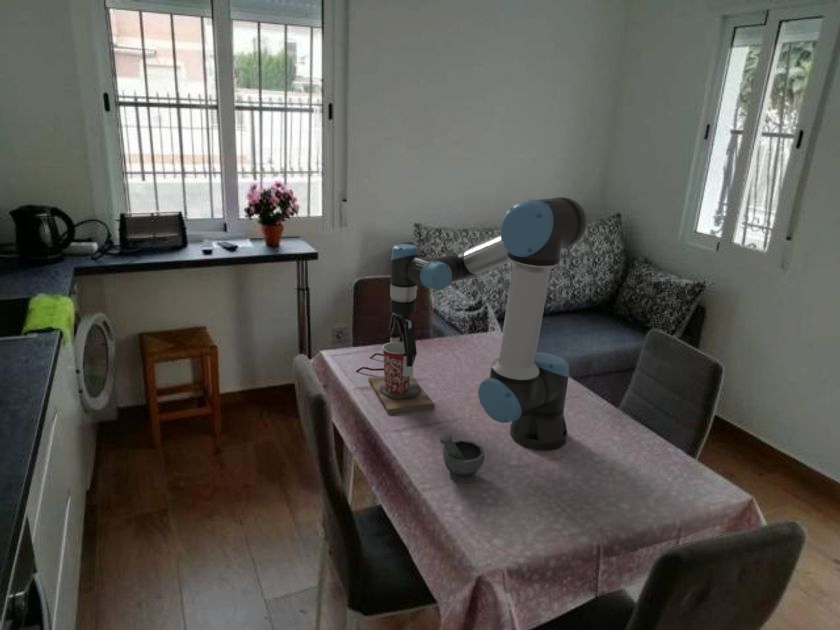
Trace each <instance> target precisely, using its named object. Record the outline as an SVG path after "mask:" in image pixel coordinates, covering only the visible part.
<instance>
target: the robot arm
mask: <svg viewBox="0 0 840 630" xmlns="http://www.w3.org/2000/svg"><path fill="white" fill-rule="evenodd" d="M502 218H503V219H502V221H501V224H500V234H499V235H498V236H495V237H492V238H491V239H488V240H486V241H483V242H481V243H479V244H477V245H475V246H472V247H471V248H470V247H469V248H468V249H466V250H463V251H462V252H459V253H456V254H451V255H445V256H439V257H435V258H427V257H423V256H421V255H419V247H418V246H417V245H415V244H409V243H402V244H400V243H399V244H396V245H393V247H392V248H391V258H390V287H389V290H390V292H389V296H390V300H389V301H390V302H389V310H390V312H391V316H390V319H389V320H390V322H389V326H388V334H389V337H390V341H389V343H391V342H401V341H400V337H401V338H402V342H403V345H404V350H405V353H404V354H403V356H404V365H403V376H414V364H413V359H414V356H415V357H416V356H417V355H418V354H417V353H418V352H417V344H416V334H415V321H414V320H412V318H411V315H412V314H414V313H416V311H417V299H416V298H417V290H419V287H418V285H419V286H423V287H425V288H427V289H429V290H435V291H442V290H445V289H446V288H447V287H448V286H449V285H450V283H454V282H459V281H464V280H471V279H473V278H476V277H478V276H479V275H481V274H482V273H485V272H487V271H490V270H493V269H495V268H498V267H500V266H503V265H505V264H508V263H511V265H512V267H511V273H510V282H509V289H508V292H507V293H508V294H507V301H506V307H505V308H506V309H505V315H504V321H503V329H502V335H501V343H500V349H499V355H498V357H497V358H496V359H494V360H493V361H492V362H491V367H490V373H489V377H486V378H485V379H484V380H483V381H481V383H480V384H479V387H478V392H477V393H478V400H479V403H480V405H481V407H482V408H483V410H484V412H485V413H486V414H487V415H488V416H489V418H491V419H492V420H493V421H496V422H499V423H502V424H508V423H511V424H510V431H509V432H510V433H509V434H510V437H511V438H512V440H513V441H514V442H516V443H517V444H519V445H521V446H522V447H525V448H529V449H532V450H537V451H553V450H558V449H561V448H562V447H564V446H565V445H566V444H567V440H568V429H567V424H566V419H565V418H566V417H565V415H564V413H565V412H564V411H565V403H566V398H567V390H568V383H569V377H570V374H569V373H570V364H569V363H568V361H566V359H564V358H562V357H560V356H558V355H555V354H551V353H546V352H538V351H537V350H538V346H539V345H538V344H539V339H540V333H541V328H542V323H543V321H542V320H543V317H544V316H543V315H544V311H545V310H544V309H545V304H546V298H547V292H548V287H549V282H550V275H551V270H552V269H554V268H555V267H557V266H558V265H559V263H560V257H561V252H562V249H566V248H568V247H571V246H574V245H576V244H577V243H578V242H579V241H581V239H582V238H583V237H584V235H585V233H586V231H587V226H588V216H587V213H586V211H585V210H584V208H583V207H582V205H581V204H580V203H578V201H576V200H574V199H572V198H569V197H564V196H563V197H552V198H542V199H534V198H532V199H529V200H526V201H525V200H524V201H522V202H517V203H516V204H514V205H512V207H511V208H509V210H507V212H506V213H505V215H504V216H503V217H502Z"/></svg>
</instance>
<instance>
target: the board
mask: <svg viewBox="0 0 840 630" xmlns="http://www.w3.org/2000/svg"><path fill="white" fill-rule="evenodd" d="M368 383H370V384H369V386H370V387H371V388H372V390H373V392H374V393H375V395H376V397H377V398H378V400H379V402H380V403H381V405H382V408H383V409H384V410H385V412H386V413H387V415H390V414H391V413H393V414H400V413H407V412H408V413H409V412H415V411H424V410H430V409H431V410H433V409H435V403H434V402H433V400H432V399H431V397H430V396H428V394H427V393H426V391H425V390H424V389H423V387H422V386H421V385H420V384H419V382H418V381H417V380H416V378H415V376H414V375H412V376H410V382H409V390H408V391H407V392H405V393H402V394H393V393H389V392H387V391H386V390H385V378H384V375H381V376H373V377H368ZM391 415H392V414H391Z"/></svg>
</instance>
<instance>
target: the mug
mask: <svg viewBox="0 0 840 630" xmlns="http://www.w3.org/2000/svg"><path fill="white" fill-rule="evenodd" d="M382 351H383V353H382V354H383V355H384V356H383V368H384V370H383V373H384V375H383V376H384V378H385V390H386V391H387V392H389V393H393V394H402V393H405V392H407V391H408V390H409V382H410V376H403V365H404V356H403V354H404V353H405V350H404V345H403V341H400V342H391V343H390V342H387V343H386V344H383V346H382ZM415 360H416V356H414V359H413V365H414V363H415Z"/></svg>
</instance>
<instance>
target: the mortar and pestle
mask: <svg viewBox="0 0 840 630" xmlns="http://www.w3.org/2000/svg"><path fill="white" fill-rule="evenodd" d="M439 441H440V444H441V445H443V447H442V456H443V461H444V462H443V463H444V465H445V467H446V469H447V470H448V471H449V473H448V475H449V479H450V480H452V481H453V482H455V483H460V484H469V483H471V482H473V481H474V480H475V479H476V473H478V471H479V470H480V469H481V468H482V466H483V464H484V461H485V457H486V456H485V455H486V454H485V450H484V449H483V446H481V445H480V444H478V443H476V442H474V441H472V440H466V439H465V440H463V439H457V440H453V437H452V435H451V434H450V433H444V434H442V435H441V436H440V438H439Z"/></svg>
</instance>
